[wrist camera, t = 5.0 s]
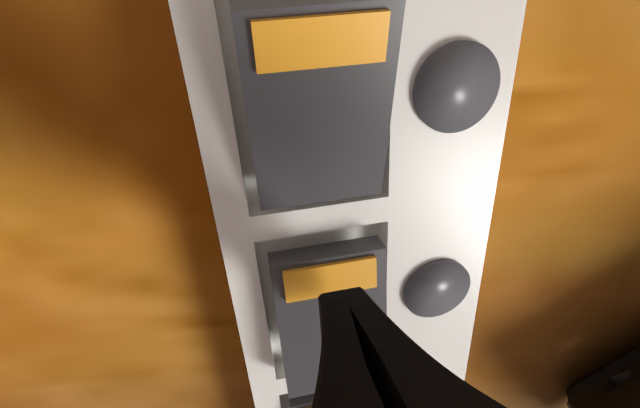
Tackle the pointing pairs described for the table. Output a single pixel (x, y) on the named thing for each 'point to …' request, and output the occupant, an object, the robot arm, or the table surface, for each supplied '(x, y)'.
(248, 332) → the switch strip
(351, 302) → the robot arm
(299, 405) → the rocker
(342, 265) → the middle rocker
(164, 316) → the table surface
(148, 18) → the table surface
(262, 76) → the rocker
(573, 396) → the black foam roller
